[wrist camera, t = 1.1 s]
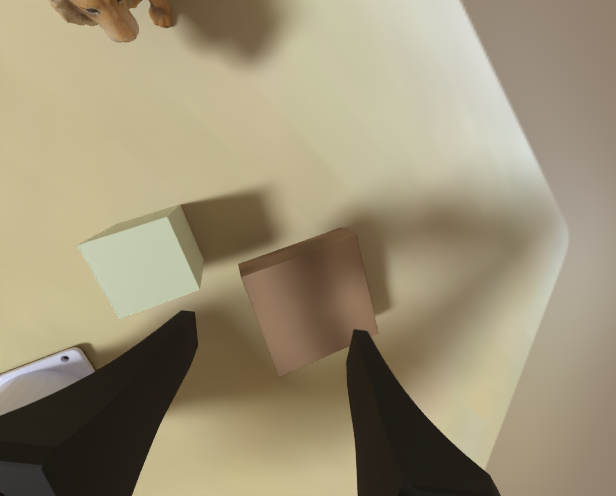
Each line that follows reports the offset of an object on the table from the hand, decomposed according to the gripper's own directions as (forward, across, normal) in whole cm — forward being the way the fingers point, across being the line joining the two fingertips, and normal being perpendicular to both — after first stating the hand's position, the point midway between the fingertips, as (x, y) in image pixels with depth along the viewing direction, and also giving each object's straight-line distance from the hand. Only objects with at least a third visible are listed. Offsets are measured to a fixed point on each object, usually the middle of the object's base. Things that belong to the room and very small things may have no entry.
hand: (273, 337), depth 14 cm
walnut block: (+12, -1, +5) cm, 13 cm away
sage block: (+9, +10, +1) cm, 13 cm away
